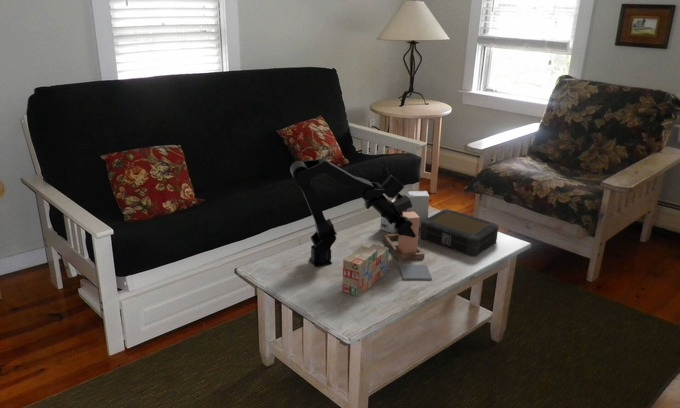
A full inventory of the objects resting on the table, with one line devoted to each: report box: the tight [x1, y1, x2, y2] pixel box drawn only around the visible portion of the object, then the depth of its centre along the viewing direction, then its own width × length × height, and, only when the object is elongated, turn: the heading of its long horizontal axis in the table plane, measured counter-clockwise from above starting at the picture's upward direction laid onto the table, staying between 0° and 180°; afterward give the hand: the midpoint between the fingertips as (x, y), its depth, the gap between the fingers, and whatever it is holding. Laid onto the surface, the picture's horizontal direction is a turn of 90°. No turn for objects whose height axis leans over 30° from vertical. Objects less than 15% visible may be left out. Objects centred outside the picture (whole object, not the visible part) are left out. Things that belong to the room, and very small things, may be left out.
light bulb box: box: [380, 198, 407, 234], centre depth 234 cm, size 11×7×11 cm, turn 143°
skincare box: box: [407, 190, 430, 229], centre depth 235 cm, size 8×6×15 cm
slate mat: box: [398, 264, 433, 281], centre depth 200 cm, size 10×10×1 cm
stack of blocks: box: [341, 243, 390, 298], centre depth 192 cm, size 21×6×12 cm, turn 148°
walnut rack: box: [382, 233, 426, 262], centre depth 217 cm, size 10×19×2 cm, turn 14°
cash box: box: [419, 208, 499, 258], centre depth 225 cm, size 25×20×8 cm
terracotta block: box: [397, 212, 420, 254], centre depth 211 cm, size 6×6×16 cm
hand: (410, 231), depth 211 cm, fingers open, 9 cm apart
